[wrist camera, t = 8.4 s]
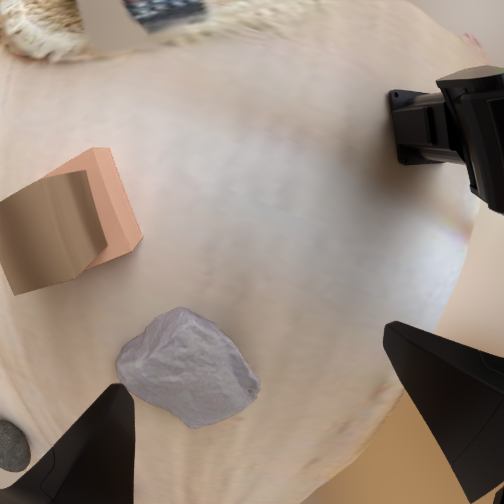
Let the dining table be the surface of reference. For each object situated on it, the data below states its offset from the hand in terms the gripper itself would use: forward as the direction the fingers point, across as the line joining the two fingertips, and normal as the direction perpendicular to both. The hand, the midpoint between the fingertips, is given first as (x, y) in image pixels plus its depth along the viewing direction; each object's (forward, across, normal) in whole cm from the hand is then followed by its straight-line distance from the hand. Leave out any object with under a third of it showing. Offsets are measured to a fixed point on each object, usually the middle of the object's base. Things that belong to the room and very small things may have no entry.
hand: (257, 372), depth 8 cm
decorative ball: (+13, +46, +24) cm, 53 cm away
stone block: (+14, +6, +11) cm, 18 cm away
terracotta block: (+13, +10, -5) cm, 17 cm away
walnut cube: (+10, +10, -5) cm, 15 cm away
